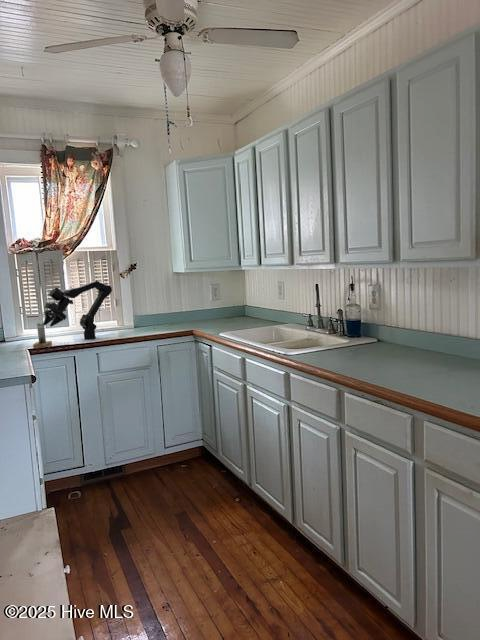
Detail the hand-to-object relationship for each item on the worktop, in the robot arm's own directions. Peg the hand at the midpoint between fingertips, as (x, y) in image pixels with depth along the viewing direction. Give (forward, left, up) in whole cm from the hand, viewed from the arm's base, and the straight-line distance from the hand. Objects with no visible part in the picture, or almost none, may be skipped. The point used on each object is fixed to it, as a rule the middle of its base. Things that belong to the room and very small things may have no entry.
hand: (47, 325), depth 295 cm
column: (+3, +2, -10) cm, 11 cm away
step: (+3, +2, -12) cm, 13 cm away
